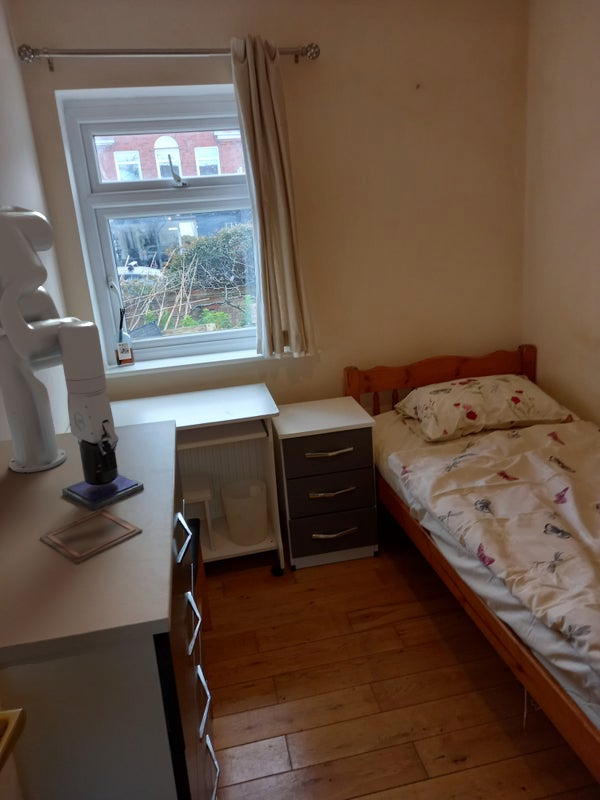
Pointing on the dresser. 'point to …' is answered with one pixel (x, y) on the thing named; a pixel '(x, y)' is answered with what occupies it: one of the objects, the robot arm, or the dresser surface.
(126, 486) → the ink pad
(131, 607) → the dresser surface
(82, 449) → the supplement bottle
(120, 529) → the marked board
